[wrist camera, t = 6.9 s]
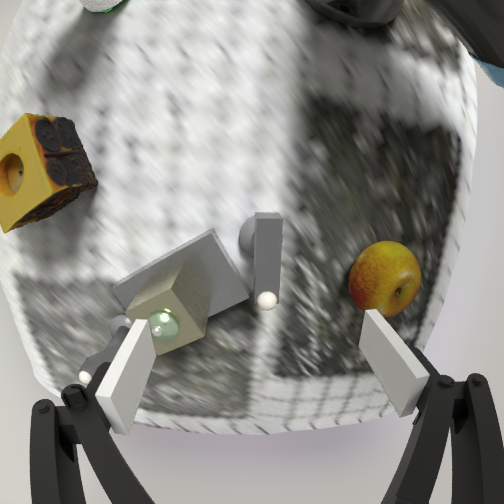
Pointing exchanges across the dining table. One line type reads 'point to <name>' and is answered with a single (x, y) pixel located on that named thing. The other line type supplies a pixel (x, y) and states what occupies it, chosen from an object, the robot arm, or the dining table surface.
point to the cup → (99, 5)
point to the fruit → (385, 278)
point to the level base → (202, 269)
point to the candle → (40, 169)
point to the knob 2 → (264, 255)
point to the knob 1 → (119, 332)
